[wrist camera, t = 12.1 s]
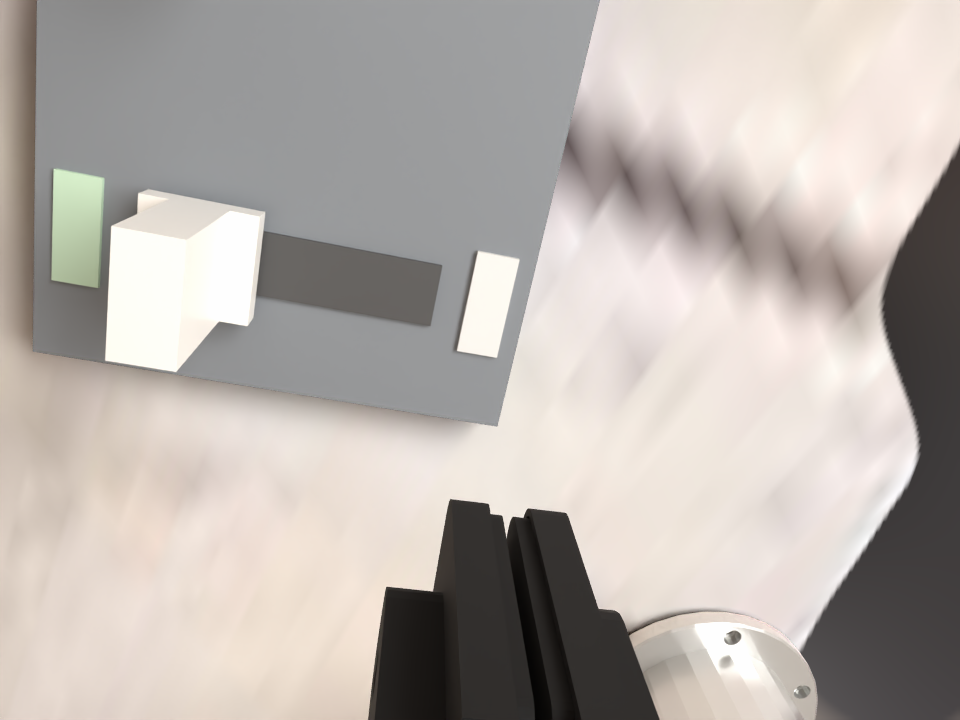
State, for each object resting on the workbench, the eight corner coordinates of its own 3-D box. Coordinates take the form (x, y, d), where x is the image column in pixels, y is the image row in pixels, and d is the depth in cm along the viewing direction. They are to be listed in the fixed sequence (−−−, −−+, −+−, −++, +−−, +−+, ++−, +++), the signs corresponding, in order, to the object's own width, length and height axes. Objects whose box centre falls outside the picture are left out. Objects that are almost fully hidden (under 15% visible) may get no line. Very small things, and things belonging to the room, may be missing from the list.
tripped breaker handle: (253, 318, 28) (211, 377, 22) (142, 298, 27) (69, 354, 22) (265, 211, 26) (223, 246, 21) (148, 189, 26) (73, 218, 20)
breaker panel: (492, 406, 32) (497, 428, 30) (56, 334, 30) (30, 353, 28) (647, -249, 25) (667, -279, 23) (74, -421, 22) (38, -473, 20)
